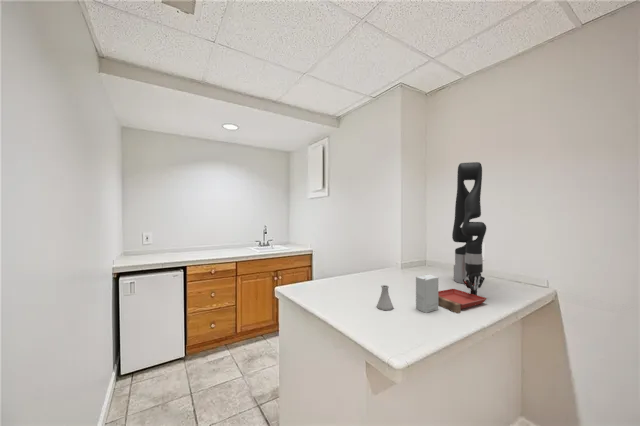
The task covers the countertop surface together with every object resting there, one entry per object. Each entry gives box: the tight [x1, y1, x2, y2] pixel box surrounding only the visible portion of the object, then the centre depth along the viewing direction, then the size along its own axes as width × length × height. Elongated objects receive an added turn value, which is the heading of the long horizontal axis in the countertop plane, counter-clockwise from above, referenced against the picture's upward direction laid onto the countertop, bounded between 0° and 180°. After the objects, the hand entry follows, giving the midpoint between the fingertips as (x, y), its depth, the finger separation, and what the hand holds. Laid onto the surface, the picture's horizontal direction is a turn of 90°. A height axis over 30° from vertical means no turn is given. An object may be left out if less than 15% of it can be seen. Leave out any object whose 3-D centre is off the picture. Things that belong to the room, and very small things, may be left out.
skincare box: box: [415, 274, 439, 314], centre depth 120 cm, size 8×6×15 cm
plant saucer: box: [438, 288, 488, 310], centre depth 129 cm, size 18×18×3 cm
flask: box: [375, 284, 394, 311], centre depth 122 cm, size 7×7×10 cm
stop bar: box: [438, 296, 462, 314], centre depth 125 cm, size 20×2×4 cm, turn 22°
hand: (473, 296), depth 134 cm, fingers closed
